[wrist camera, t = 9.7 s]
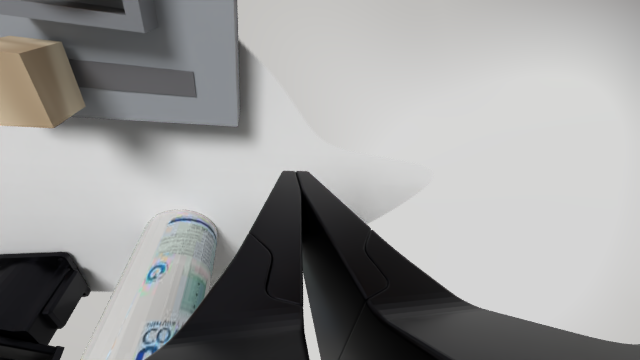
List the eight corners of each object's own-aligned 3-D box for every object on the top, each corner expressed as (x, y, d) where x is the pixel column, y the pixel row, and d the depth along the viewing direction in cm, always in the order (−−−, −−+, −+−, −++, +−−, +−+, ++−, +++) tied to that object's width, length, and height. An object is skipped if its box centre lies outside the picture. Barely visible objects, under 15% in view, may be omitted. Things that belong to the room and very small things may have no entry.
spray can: (126, 229, 23) (-152, 732, 8) (184, 196, 22) (4, 693, 7) (182, 263, 27) (74, 644, 11) (233, 236, 26) (192, 611, 11)
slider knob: (41, 103, 14) (-1, 125, 12) (9, 35, 12) (-47, 46, 10) (85, 106, 14) (53, 128, 12) (61, 41, 13) (18, 53, 10)
